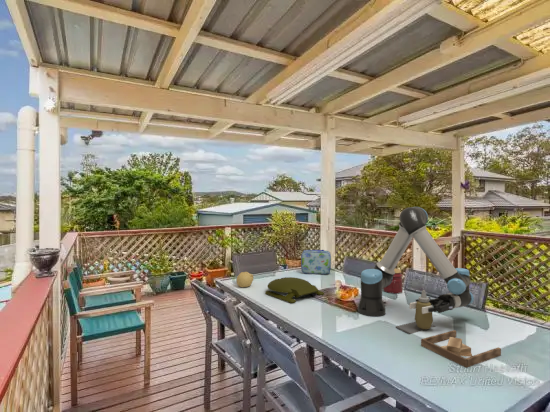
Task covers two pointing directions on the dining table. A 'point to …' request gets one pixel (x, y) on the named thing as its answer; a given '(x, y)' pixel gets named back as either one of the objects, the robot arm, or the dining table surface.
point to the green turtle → (291, 288)
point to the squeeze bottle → (423, 319)
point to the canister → (395, 283)
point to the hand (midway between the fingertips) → (416, 308)
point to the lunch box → (316, 262)
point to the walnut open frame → (454, 357)
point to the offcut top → (454, 344)
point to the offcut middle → (464, 349)
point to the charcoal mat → (410, 328)
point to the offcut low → (466, 355)
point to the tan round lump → (244, 279)
